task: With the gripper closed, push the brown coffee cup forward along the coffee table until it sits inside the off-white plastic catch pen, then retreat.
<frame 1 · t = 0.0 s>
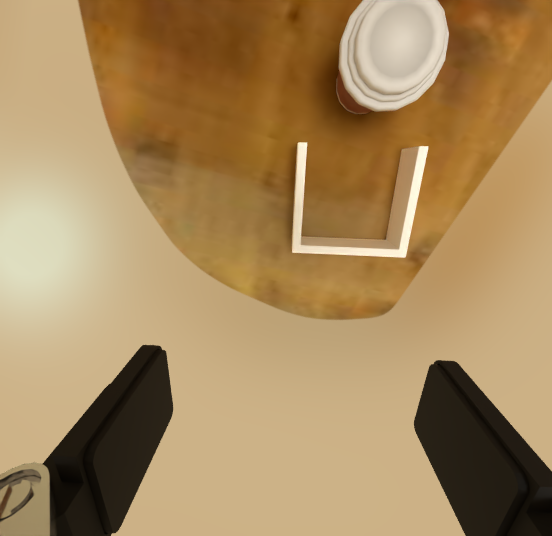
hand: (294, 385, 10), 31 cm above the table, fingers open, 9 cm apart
catch pen: (348, 202, 38), on the table
coffee cup: (362, 84, 33), on the table
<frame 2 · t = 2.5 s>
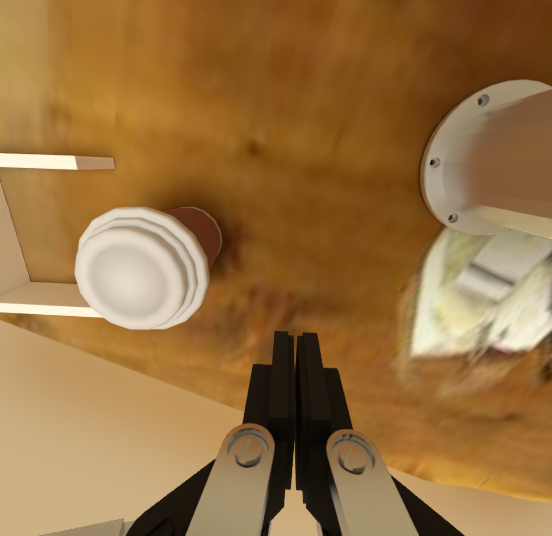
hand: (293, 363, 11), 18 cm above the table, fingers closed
catch pen: (60, 232, 29), on the table
coffee cup: (192, 237, 29), on the table
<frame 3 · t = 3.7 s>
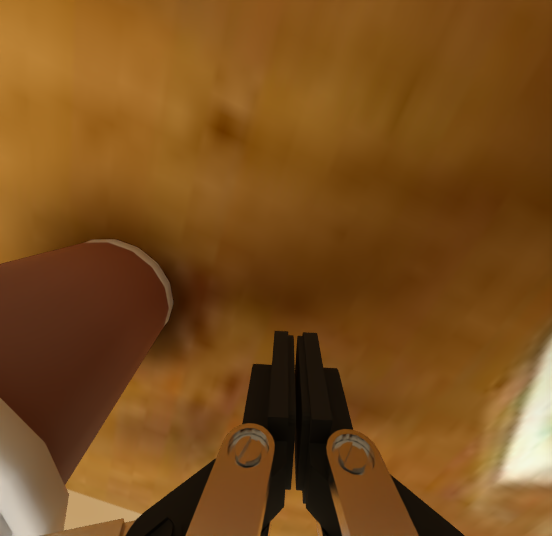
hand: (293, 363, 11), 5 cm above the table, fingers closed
coffee cup: (120, 291, 16), on the table
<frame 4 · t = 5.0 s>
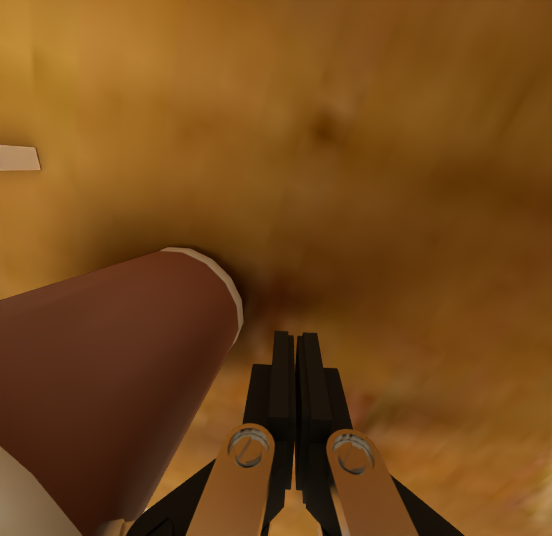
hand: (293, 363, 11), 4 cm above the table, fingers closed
coffee cup: (189, 302, 15), on the table, touching gripper
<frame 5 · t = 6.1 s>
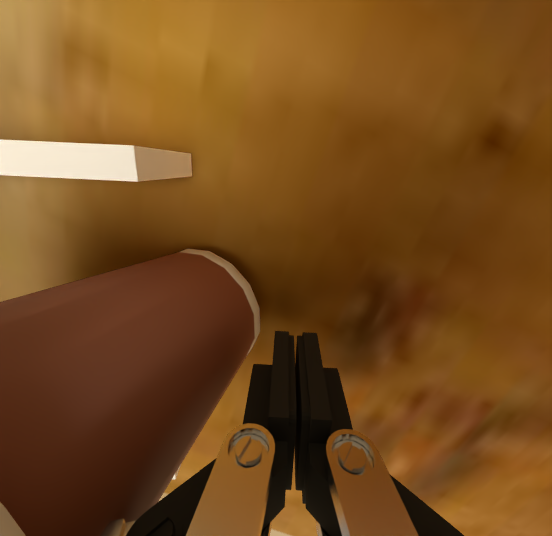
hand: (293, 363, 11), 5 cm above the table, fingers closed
catch pen: (76, 292, 15), on the table
coffee cup: (207, 306, 14), point 1 cm above the table, touching gripper
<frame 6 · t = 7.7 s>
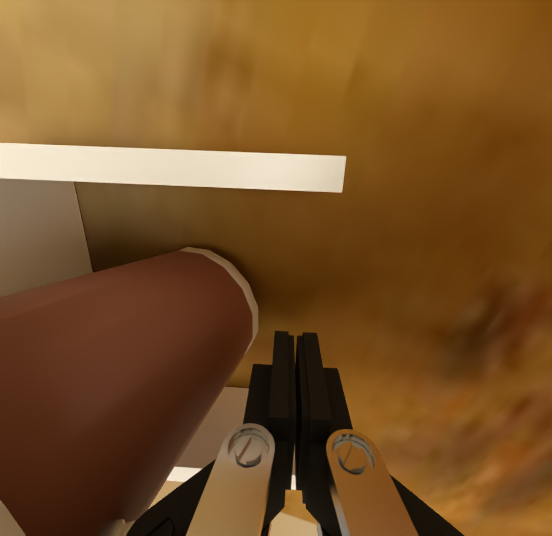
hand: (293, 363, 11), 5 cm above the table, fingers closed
catch pen: (185, 299, 15), on the table
coffee cup: (205, 305, 14), point 1 cm above the table, touching gripper
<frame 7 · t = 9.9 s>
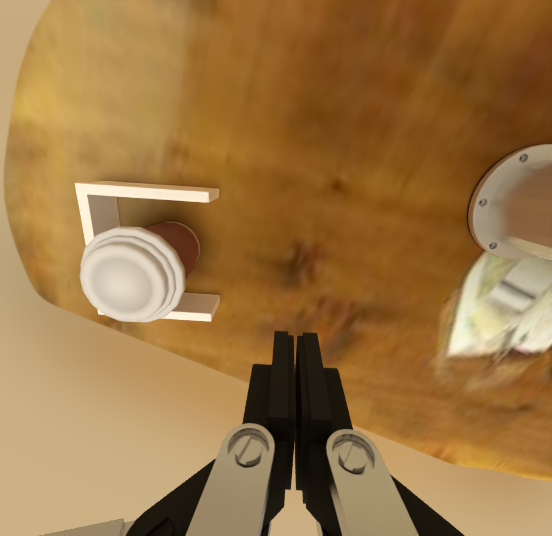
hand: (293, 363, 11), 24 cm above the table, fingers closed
catch pen: (163, 247, 34), on the table
coffee cup: (175, 246, 34), on the table
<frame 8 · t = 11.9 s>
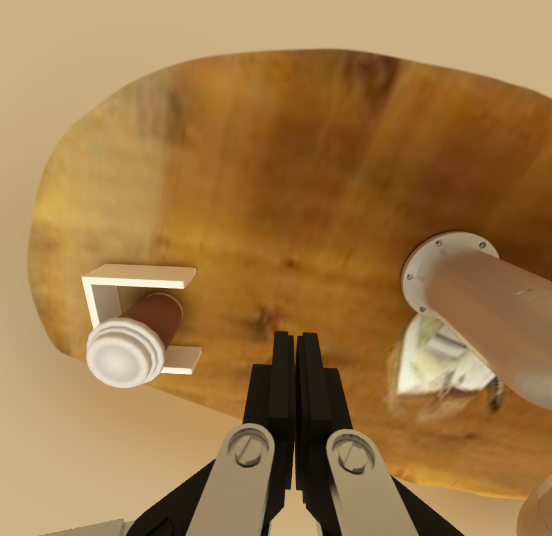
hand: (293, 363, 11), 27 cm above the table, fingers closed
catch pen: (153, 311, 42), on the table
coffee cup: (163, 310, 42), on the table
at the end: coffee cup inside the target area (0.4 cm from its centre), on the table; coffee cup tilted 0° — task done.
